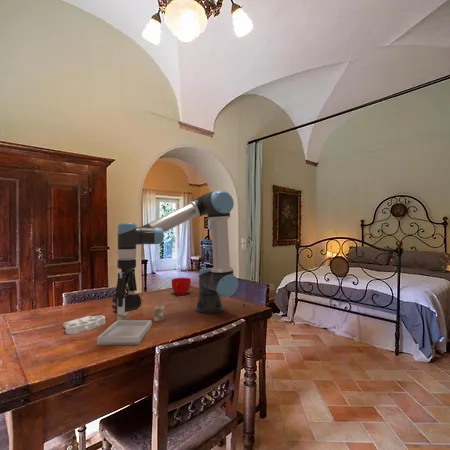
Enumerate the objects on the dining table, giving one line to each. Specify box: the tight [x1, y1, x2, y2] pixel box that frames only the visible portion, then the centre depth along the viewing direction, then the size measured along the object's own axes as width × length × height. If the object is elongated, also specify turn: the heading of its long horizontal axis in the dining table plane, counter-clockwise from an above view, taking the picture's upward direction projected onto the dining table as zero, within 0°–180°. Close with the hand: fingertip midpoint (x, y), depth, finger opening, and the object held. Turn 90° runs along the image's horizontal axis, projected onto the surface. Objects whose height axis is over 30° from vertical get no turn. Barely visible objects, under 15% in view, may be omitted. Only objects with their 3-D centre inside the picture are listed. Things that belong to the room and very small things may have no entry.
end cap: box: [111, 293, 142, 315], centre depth 121 cm, size 10×7×7 cm
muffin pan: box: [63, 315, 106, 335], centre depth 131 cm, size 3×18×15 cm
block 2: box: [153, 305, 166, 322], centre depth 142 cm, size 4×6×6 cm, turn 0°
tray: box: [96, 319, 153, 346], centre depth 121 cm, size 16×20×3 cm
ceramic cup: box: [171, 277, 192, 296], centre depth 193 cm, size 13×17×10 cm
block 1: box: [116, 311, 131, 321], centre depth 142 cm, size 4×6×6 cm, turn 0°
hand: (126, 309), depth 121 cm, fingers closed on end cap, 12 cm apart
